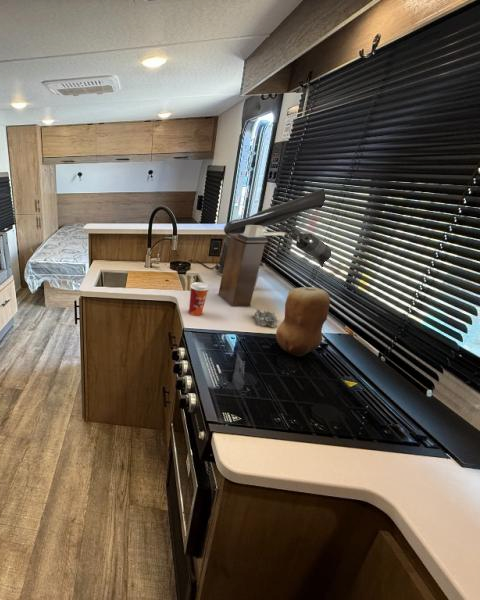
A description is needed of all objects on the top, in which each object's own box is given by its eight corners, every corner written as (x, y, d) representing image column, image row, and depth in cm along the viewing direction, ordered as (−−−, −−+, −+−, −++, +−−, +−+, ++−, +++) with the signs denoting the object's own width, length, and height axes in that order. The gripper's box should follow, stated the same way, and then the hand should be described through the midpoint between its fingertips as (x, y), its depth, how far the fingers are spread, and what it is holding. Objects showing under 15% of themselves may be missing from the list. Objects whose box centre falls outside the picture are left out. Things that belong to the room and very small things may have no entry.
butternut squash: (274, 339, 120) (291, 278, 109) (316, 350, 112) (338, 286, 102) (269, 355, 109) (288, 290, 99) (315, 368, 102) (340, 300, 92)
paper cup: (195, 318, 136) (200, 289, 131) (183, 311, 142) (187, 283, 137) (208, 314, 139) (213, 285, 134) (195, 308, 146) (199, 280, 140)
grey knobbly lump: (252, 315, 139) (254, 307, 137) (271, 317, 136) (274, 309, 135) (257, 325, 129) (259, 317, 128) (277, 328, 127) (279, 319, 125)
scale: (237, 237, 141) (238, 233, 141) (258, 236, 142) (259, 233, 141) (246, 240, 134) (247, 237, 133) (269, 240, 134) (270, 236, 134)
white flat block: (288, 236, 134) (291, 227, 133) (249, 236, 134) (251, 227, 132) (278, 233, 141) (281, 224, 139) (241, 233, 140) (242, 224, 139)
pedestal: (216, 294, 161) (228, 233, 149) (235, 293, 162) (248, 233, 149) (231, 306, 147) (245, 240, 134) (251, 306, 147) (268, 240, 134)
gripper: (305, 235, 145) (281, 217, 142) (329, 241, 132) (303, 223, 129) (294, 248, 148) (270, 232, 144) (316, 256, 135) (290, 238, 131)
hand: (285, 227), depth 136 cm, fingers open, 8 cm apart
